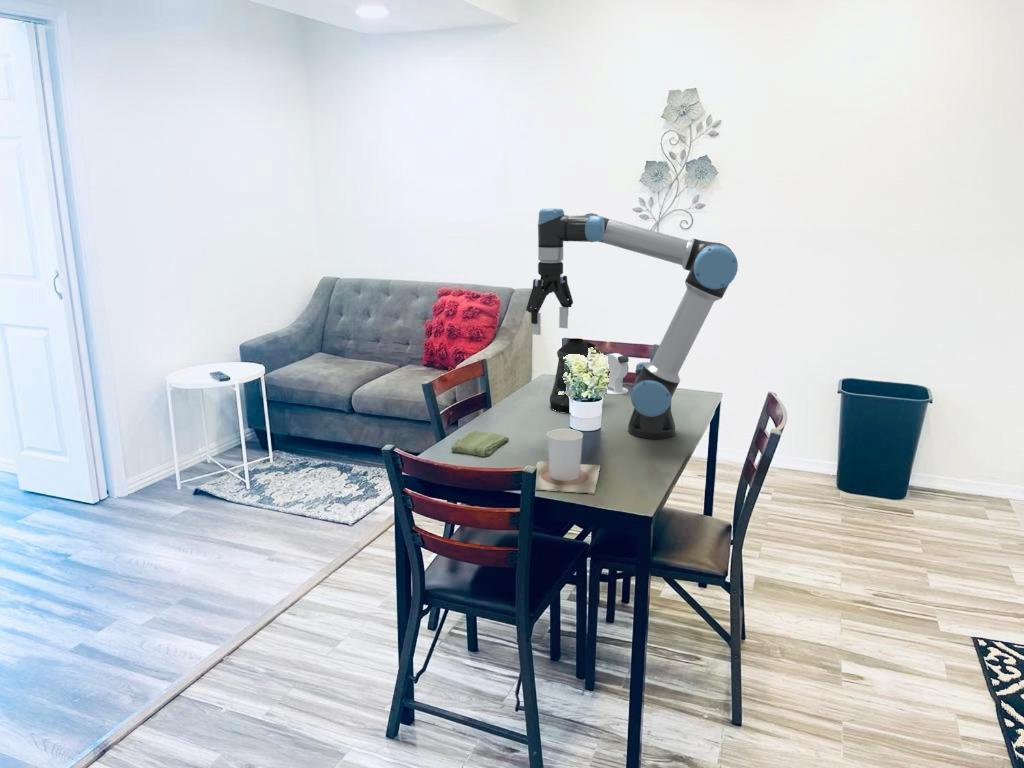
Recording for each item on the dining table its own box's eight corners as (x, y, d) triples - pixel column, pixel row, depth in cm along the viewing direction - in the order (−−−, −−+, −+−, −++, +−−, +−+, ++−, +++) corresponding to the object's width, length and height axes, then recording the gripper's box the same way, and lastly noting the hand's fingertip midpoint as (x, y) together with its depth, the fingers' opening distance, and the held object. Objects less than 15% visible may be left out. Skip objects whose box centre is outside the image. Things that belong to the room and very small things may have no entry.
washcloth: (510, 441, 239) (510, 432, 239) (487, 459, 224) (486, 449, 223) (473, 436, 244) (473, 426, 244) (447, 453, 229) (447, 443, 228)
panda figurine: (635, 392, 294) (636, 354, 290) (611, 396, 288) (613, 358, 284) (616, 385, 304) (617, 349, 300) (593, 389, 298) (594, 352, 294)
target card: (600, 467, 216) (600, 465, 216) (594, 494, 197) (594, 492, 197) (538, 463, 219) (538, 461, 219) (526, 489, 200) (526, 487, 200)
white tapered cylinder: (586, 472, 210) (588, 431, 207) (575, 484, 202) (576, 441, 199) (554, 467, 214) (554, 426, 211) (541, 479, 206) (541, 437, 203)
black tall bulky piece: (540, 409, 272) (541, 341, 266) (567, 397, 288) (568, 332, 281) (581, 416, 263) (582, 346, 257) (606, 403, 279) (608, 337, 273)
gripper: (565, 257, 238) (564, 324, 244) (514, 263, 220) (514, 335, 225) (585, 258, 234) (583, 326, 239) (534, 265, 215) (533, 338, 221)
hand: (550, 331), depth 232 cm, fingers open, 13 cm apart
